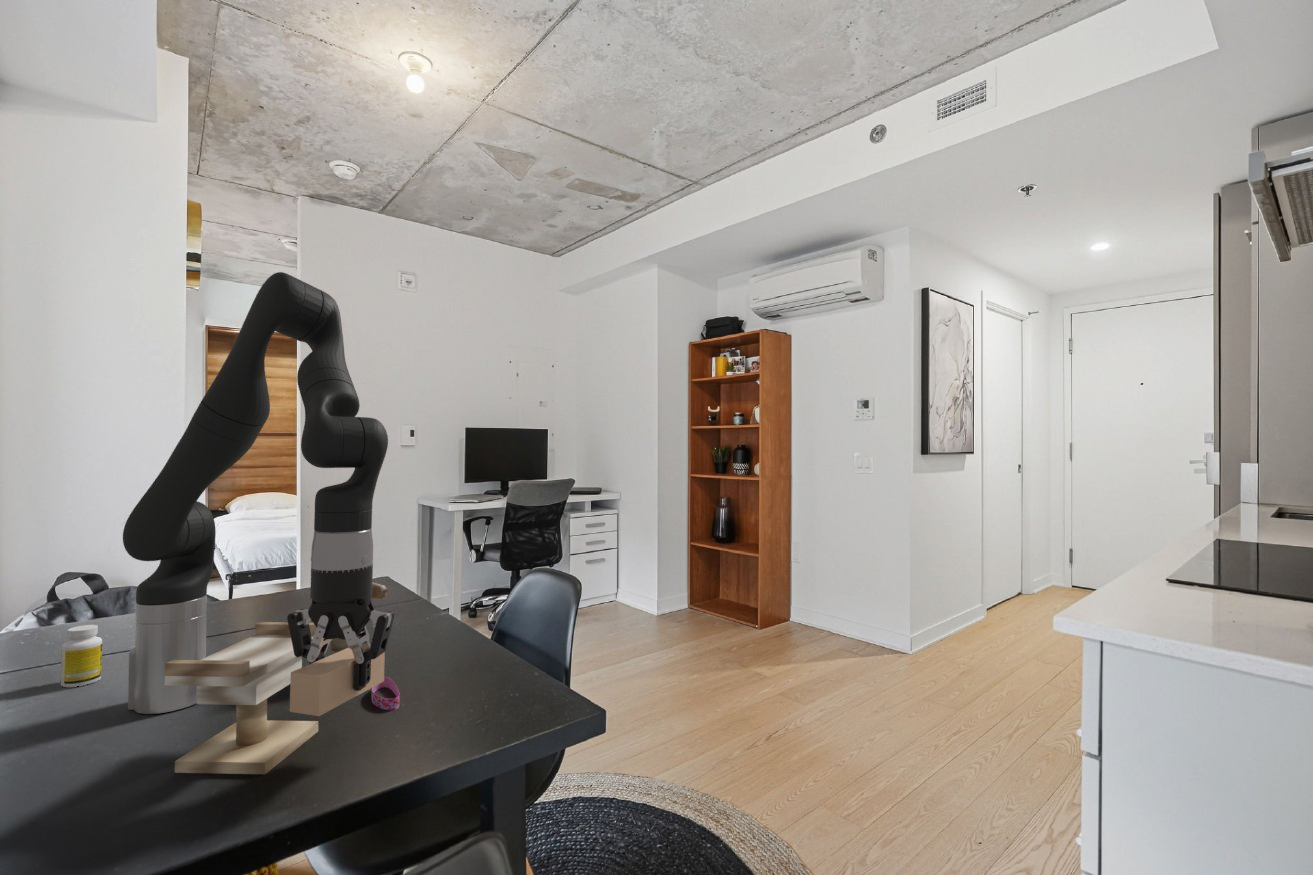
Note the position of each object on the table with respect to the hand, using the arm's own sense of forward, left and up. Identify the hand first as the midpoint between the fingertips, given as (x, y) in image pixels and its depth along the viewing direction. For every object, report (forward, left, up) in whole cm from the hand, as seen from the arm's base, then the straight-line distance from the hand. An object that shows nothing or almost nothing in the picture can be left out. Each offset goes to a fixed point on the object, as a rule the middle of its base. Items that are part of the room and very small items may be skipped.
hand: (339, 687), depth 83 cm
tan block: (0, 0, -1) cm, 1 cm away
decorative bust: (-15, +30, -10) cm, 35 cm away
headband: (-3, +20, -10) cm, 23 cm away
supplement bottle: (-61, +25, -10) cm, 66 cm away
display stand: (-14, +2, -10) cm, 17 cm away
